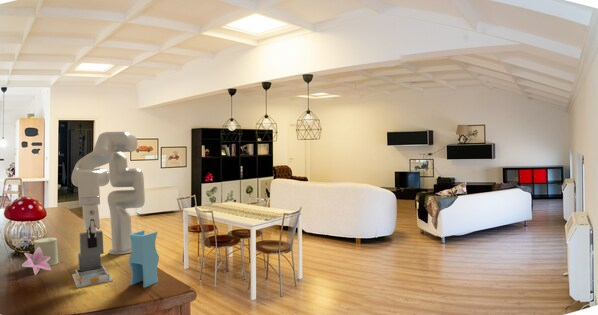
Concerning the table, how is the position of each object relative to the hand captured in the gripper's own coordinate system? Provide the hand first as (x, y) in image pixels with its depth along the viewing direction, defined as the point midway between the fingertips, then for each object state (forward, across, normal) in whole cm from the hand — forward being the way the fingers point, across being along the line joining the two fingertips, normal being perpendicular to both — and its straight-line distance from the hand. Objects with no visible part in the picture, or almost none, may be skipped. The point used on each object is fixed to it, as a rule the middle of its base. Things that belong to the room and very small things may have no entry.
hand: (91, 246), depth 164 cm
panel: (+3, 0, 0) cm, 3 cm away
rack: (+15, +5, 0) cm, 16 cm away
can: (+15, +41, +14) cm, 46 cm away
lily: (+15, +31, +19) cm, 39 cm away
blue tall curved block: (+15, -15, -17) cm, 27 cm away
